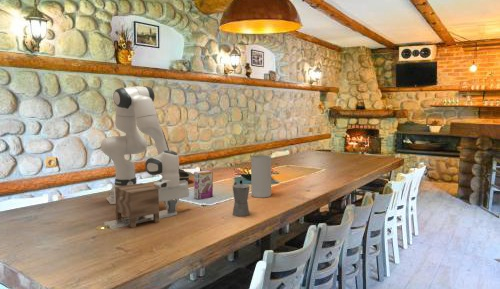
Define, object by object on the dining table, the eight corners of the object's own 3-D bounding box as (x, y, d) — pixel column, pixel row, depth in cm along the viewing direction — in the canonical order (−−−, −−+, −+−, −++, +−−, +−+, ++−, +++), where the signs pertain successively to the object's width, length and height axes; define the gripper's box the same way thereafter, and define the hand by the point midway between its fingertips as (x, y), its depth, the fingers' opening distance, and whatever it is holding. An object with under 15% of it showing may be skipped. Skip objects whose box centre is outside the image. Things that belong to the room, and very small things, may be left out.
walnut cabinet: (114, 219, 188) (113, 187, 187) (142, 214, 198) (141, 183, 196) (129, 228, 175) (128, 193, 173) (159, 222, 185) (158, 188, 183)
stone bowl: (160, 179, 292) (161, 167, 291) (193, 181, 295) (194, 169, 294) (156, 185, 267) (157, 172, 267) (192, 187, 270) (193, 174, 270)
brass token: (94, 228, 175) (94, 226, 175) (105, 226, 179) (105, 224, 179) (98, 231, 172) (98, 229, 172) (109, 229, 175) (109, 227, 175)
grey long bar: (170, 211, 203) (169, 198, 203) (178, 214, 197) (177, 201, 197) (104, 225, 180) (103, 210, 179) (110, 229, 174) (110, 214, 173)
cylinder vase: (260, 199, 231) (260, 158, 228) (247, 195, 240) (247, 156, 238) (275, 196, 239) (275, 156, 237) (261, 192, 248) (261, 154, 246)
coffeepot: (254, 216, 194) (254, 181, 193) (237, 218, 190) (237, 183, 189) (242, 209, 208) (242, 176, 207) (226, 211, 204) (226, 178, 203)
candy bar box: (198, 199, 229) (198, 173, 227) (193, 198, 232) (193, 172, 231) (213, 196, 237) (213, 170, 235) (208, 195, 240) (208, 169, 239)
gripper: (184, 178, 207) (185, 203, 208) (150, 183, 193) (150, 210, 195) (191, 180, 202) (191, 205, 204) (156, 185, 189) (156, 212, 190)
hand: (171, 207), depth 199 cm, fingers closed on grey long bar, 3 cm apart
